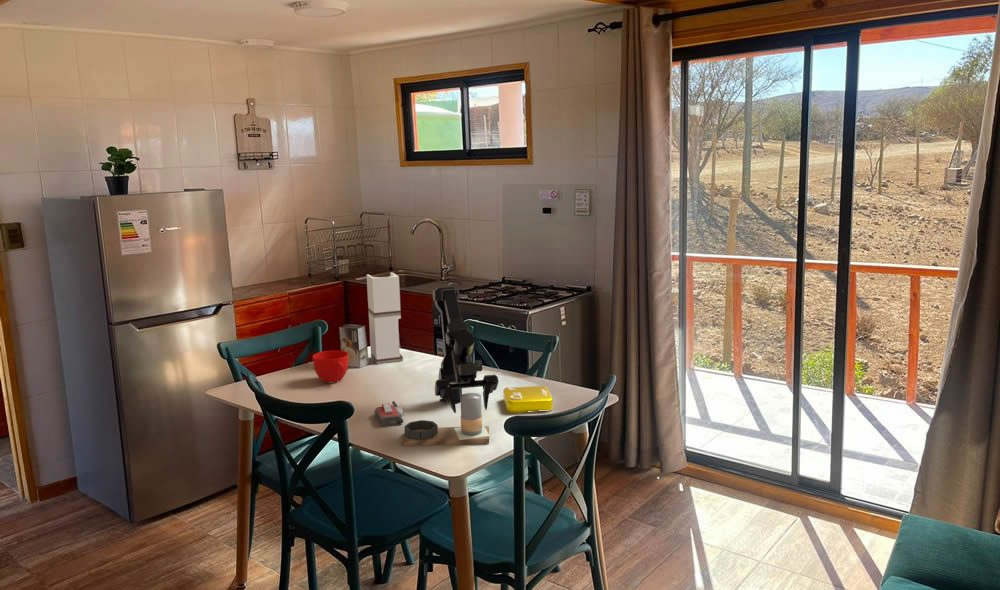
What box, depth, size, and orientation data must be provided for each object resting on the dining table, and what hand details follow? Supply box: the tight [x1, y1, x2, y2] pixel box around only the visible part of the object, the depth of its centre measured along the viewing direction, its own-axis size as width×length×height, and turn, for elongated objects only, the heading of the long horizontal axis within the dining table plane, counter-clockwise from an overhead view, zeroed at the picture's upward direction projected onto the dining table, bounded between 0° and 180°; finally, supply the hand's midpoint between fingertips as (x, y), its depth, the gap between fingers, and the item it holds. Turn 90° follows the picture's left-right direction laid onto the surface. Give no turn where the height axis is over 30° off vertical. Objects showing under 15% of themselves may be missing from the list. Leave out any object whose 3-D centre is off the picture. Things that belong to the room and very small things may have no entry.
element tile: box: [502, 385, 554, 414], centre depth 243 cm, size 15×15×5 cm
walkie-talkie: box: [374, 400, 405, 428], centre depth 236 cm, size 9×4×20 cm
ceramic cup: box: [312, 349, 349, 383], centre depth 272 cm, size 13×17×10 cm
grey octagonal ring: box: [403, 419, 439, 440], centre depth 216 cm, size 10×10×2 cm
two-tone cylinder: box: [460, 392, 483, 436], centre depth 215 cm, size 6×6×11 cm
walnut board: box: [401, 425, 490, 447], centre depth 216 cm, size 25×10×2 cm, turn 91°
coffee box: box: [338, 323, 370, 368], centre depth 293 cm, size 9×6×16 cm
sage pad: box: [454, 424, 491, 440], centre depth 216 cm, size 9×9×1 cm
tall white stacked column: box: [366, 272, 404, 365], centre depth 299 cm, size 11×11×35 cm
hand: (470, 410), depth 215 cm, fingers open, 9 cm apart
